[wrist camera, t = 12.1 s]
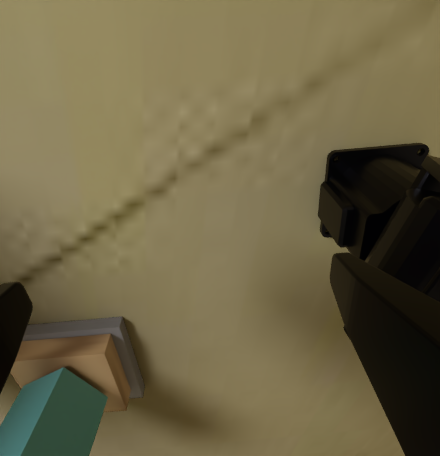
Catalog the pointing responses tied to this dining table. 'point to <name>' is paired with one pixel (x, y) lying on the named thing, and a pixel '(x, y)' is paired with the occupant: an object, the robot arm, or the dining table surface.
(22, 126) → the dining table surface
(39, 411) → the pillar
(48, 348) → the top slab
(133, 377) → the base slab
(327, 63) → the dining table surface
